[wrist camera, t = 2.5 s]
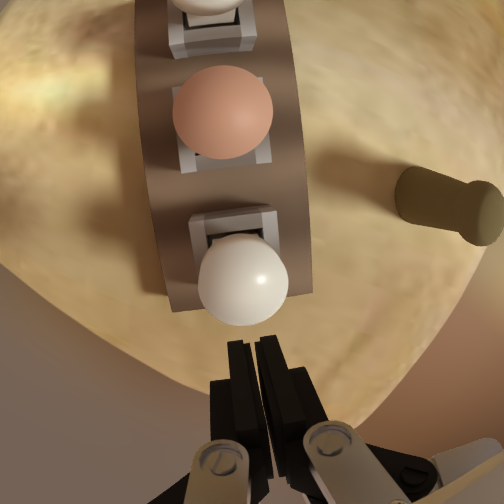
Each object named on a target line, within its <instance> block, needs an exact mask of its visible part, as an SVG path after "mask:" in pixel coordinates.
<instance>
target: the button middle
mask: <svg viewBox="0 0 504 504" xmlns="http://www.w3.org/2000/svg"><path fill="white" fill-rule="evenodd" d="M272 118H273V105H272V100H271V97H270V94H269V92H268V90H267V88H266V87H265V85H264V84H263V83H262V82H261V81H260V80H259V79H258V78H257V77H256V76H255V75H253V74H252V73H250V72H248V71H246V70H244V69H242V68H239V67H234V66H227V65H221V66H213V67H209V68H206V69H203V70H201V71H199V72H197V73H196V74H194V75H193V76H191V77H190V78H189V79H188V80H187V81H186V82H185V83H184V84H183V85H182V86H181V88H180V89H179V91H178V93H177V95H176V98H175V100H174V104H173V122H174V126H175V129H176V131H177V134H178V136H179V137H180V138H181V140H182V141H183V142H184V143H185V145H186V146H188V147H189V148H190V149H191V150H193V151H194V152H196V153H198V154H200V155H202V156H205V157H208V158H212V159H220V160H222V159H231V158H235V157H239V156H242V155H244V154H246V153H248V152H249V151H251V150H253V149H254V148H255V147H256V146H258V145H259V144H260V143H261V141H262V140H263V139H264V138H265V136H266V135H267V133H268V131H269V129H270V126H271V123H272Z"/></svg>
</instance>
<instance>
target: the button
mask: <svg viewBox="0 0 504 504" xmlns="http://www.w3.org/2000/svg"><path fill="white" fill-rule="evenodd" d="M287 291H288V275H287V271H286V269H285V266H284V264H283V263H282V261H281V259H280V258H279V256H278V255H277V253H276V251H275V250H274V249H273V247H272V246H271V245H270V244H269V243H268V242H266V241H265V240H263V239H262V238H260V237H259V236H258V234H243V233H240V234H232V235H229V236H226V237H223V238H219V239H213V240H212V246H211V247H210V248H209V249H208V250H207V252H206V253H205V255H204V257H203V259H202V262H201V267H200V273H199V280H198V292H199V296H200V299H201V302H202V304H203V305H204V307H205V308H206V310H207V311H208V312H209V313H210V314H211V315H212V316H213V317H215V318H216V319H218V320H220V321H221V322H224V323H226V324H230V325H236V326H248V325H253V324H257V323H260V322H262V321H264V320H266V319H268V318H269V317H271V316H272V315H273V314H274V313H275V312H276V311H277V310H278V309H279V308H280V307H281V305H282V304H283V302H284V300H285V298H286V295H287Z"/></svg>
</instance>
